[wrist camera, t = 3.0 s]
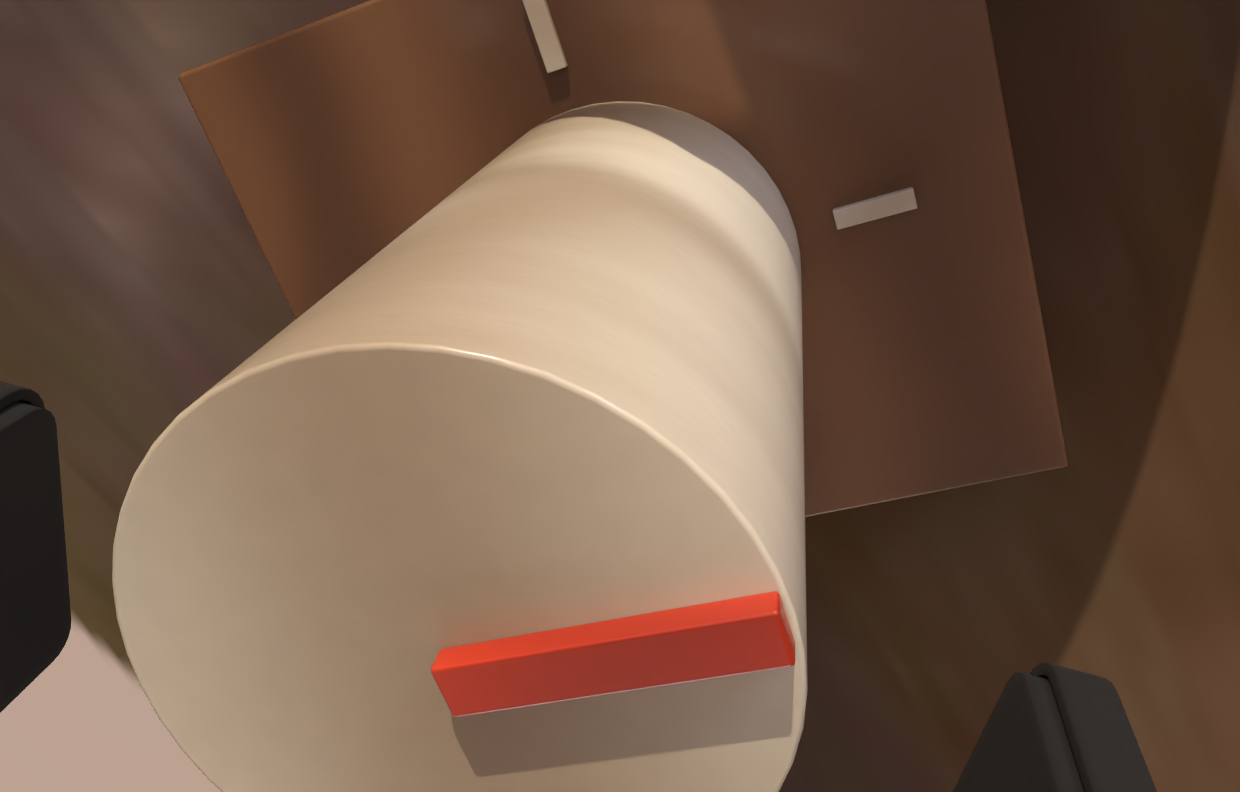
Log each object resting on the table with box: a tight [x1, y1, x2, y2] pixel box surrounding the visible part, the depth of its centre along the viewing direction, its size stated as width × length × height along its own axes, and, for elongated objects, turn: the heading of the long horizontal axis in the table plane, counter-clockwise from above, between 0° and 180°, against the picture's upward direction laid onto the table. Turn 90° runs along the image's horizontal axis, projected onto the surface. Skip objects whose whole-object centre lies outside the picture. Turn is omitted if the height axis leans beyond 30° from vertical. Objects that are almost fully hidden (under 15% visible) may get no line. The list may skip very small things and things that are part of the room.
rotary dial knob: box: [112, 101, 808, 792], centre depth 14 cm, size 6×6×11 cm
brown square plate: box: [179, 0, 1068, 517], centre depth 20 cm, size 14×12×3 cm
